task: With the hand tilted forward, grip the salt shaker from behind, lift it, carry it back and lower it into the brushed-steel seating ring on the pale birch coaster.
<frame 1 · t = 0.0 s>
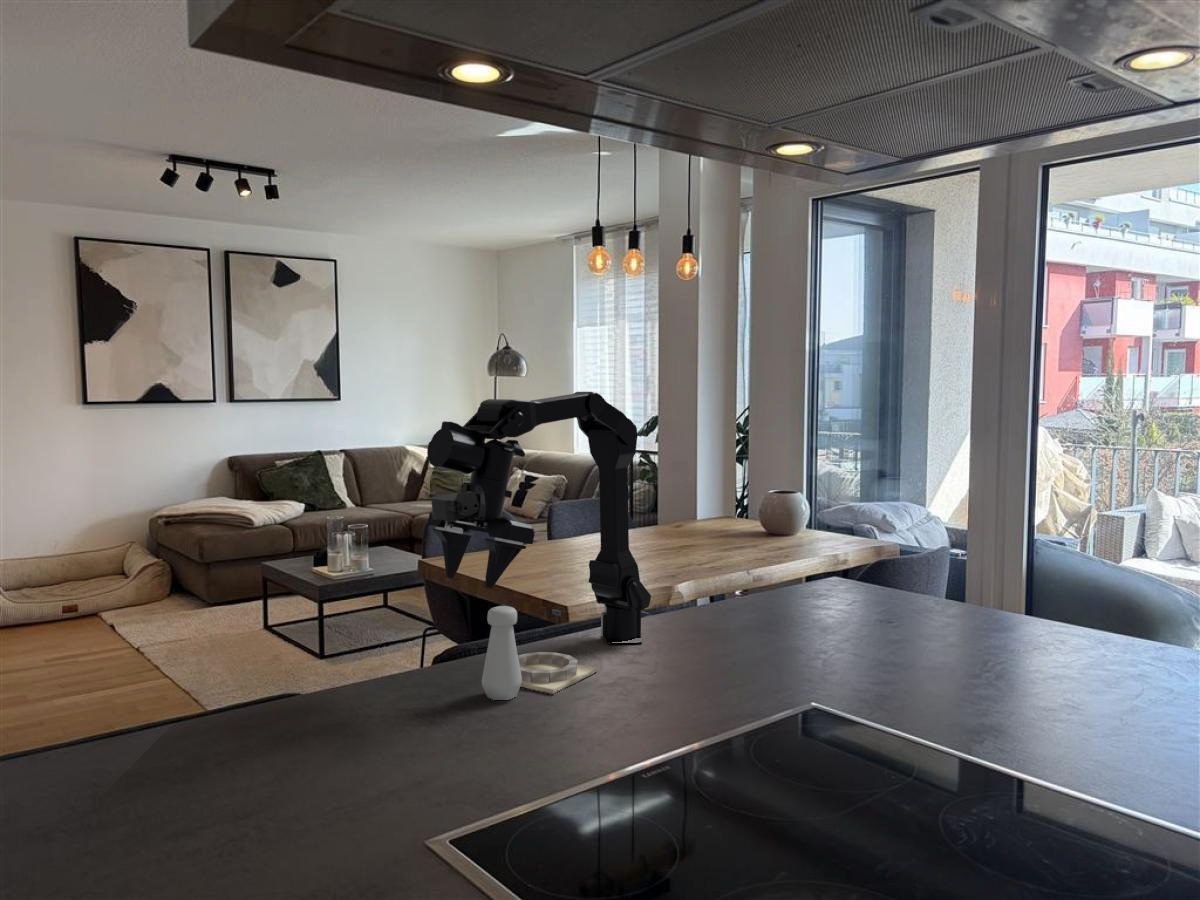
hand: (468, 583, 130), 15 cm above the worktop, tool pointing down, fingers open, 9 cm apart
salt shaker: (501, 697, 126), on the worktop
ring stand: (543, 676, 135), on the worktop
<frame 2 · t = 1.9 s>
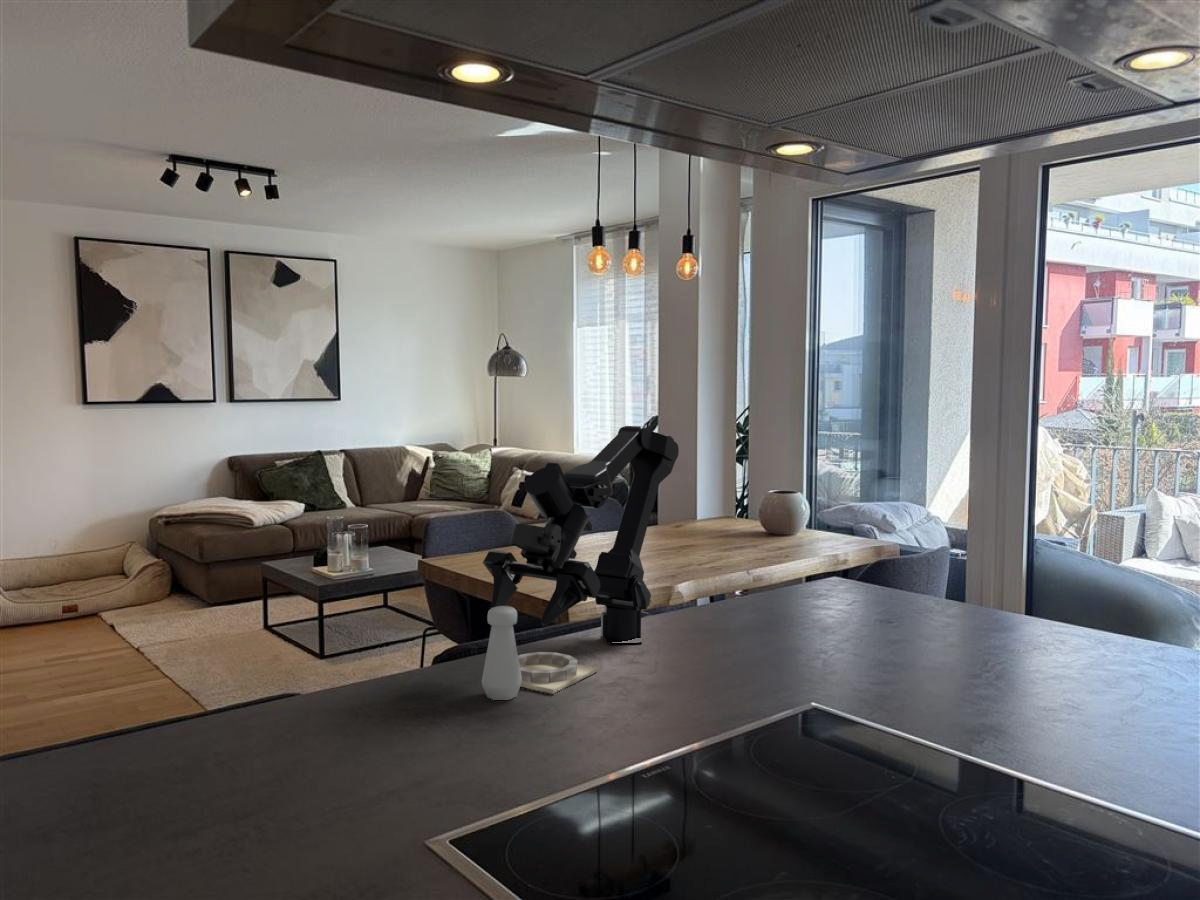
hand: (517, 619, 128), 10 cm above the worktop, tool tilted 45°, fingers open, 9 cm apart
nothing on the worktop moved.
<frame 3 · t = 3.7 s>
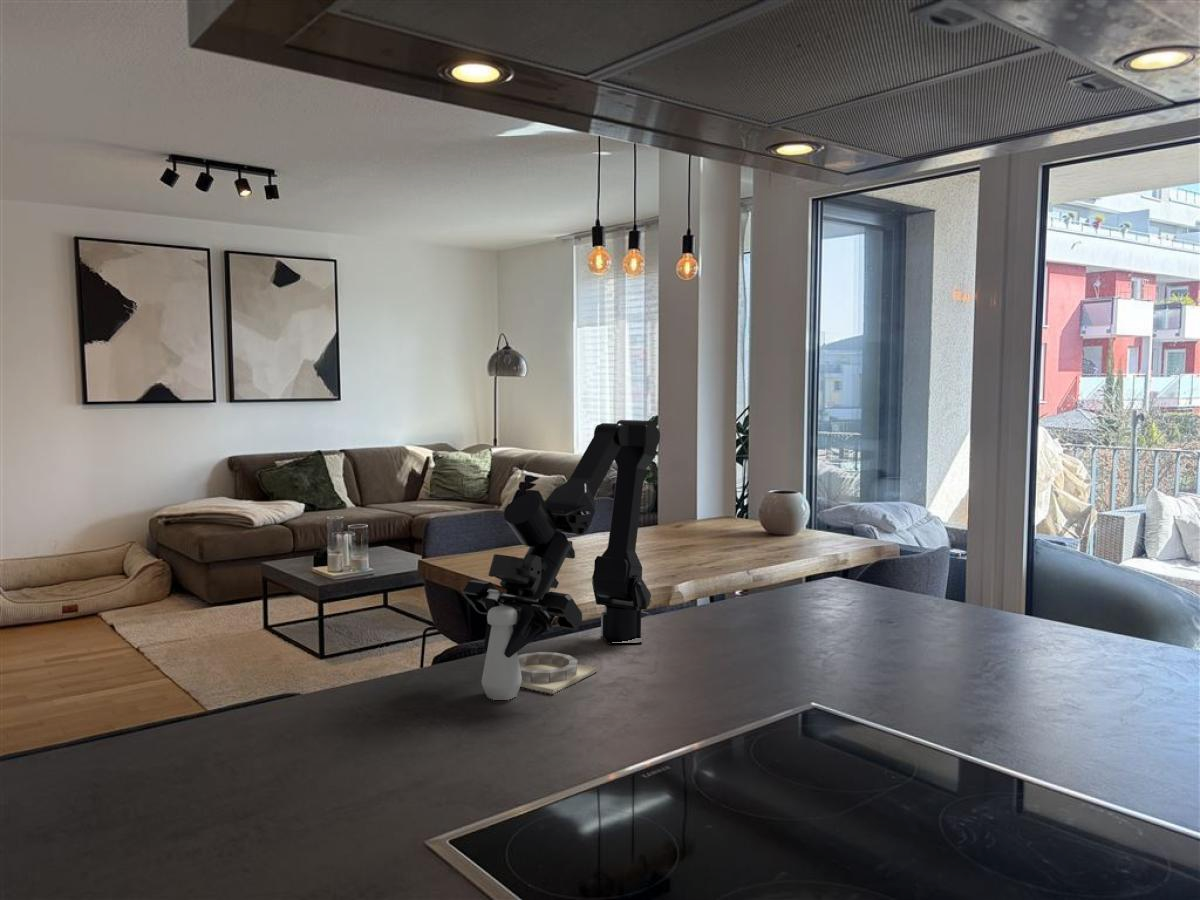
hand: (496, 653, 124), 7 cm above the worktop, tool tilted 45°, fingers closed on salt shaker, 3 cm apart
salt shaker: (501, 697, 126), on the worktop, touching gripper
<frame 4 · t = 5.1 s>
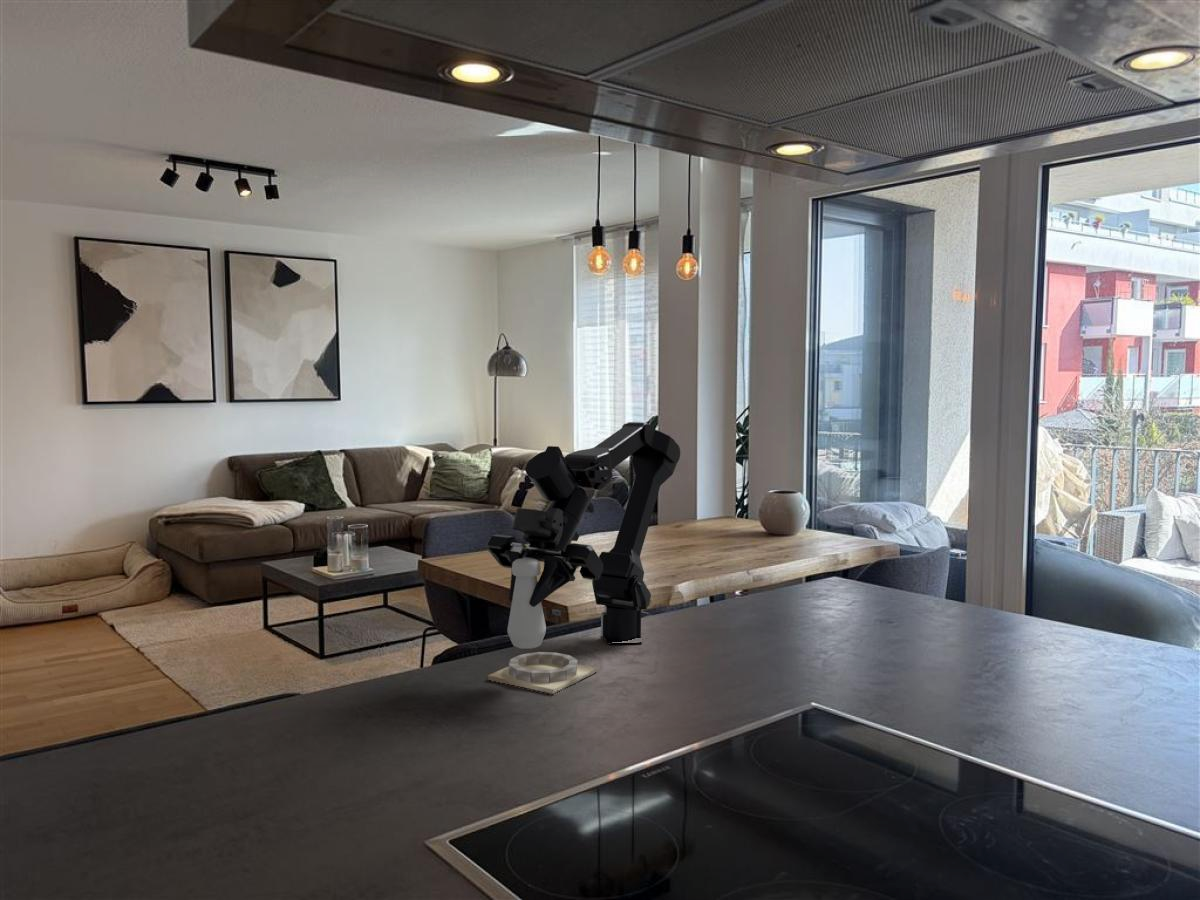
hand: (521, 603, 129), 13 cm above the worktop, tool tilted 45°, fingers closed on salt shaker, 3 cm apart
salt shaker: (527, 645, 131), point 6 cm above the worktop, touching gripper
when the fingers open (9 cm above the worktop, at t = 6.6 s): salt shaker drops 1 cm, resting on ring stand.
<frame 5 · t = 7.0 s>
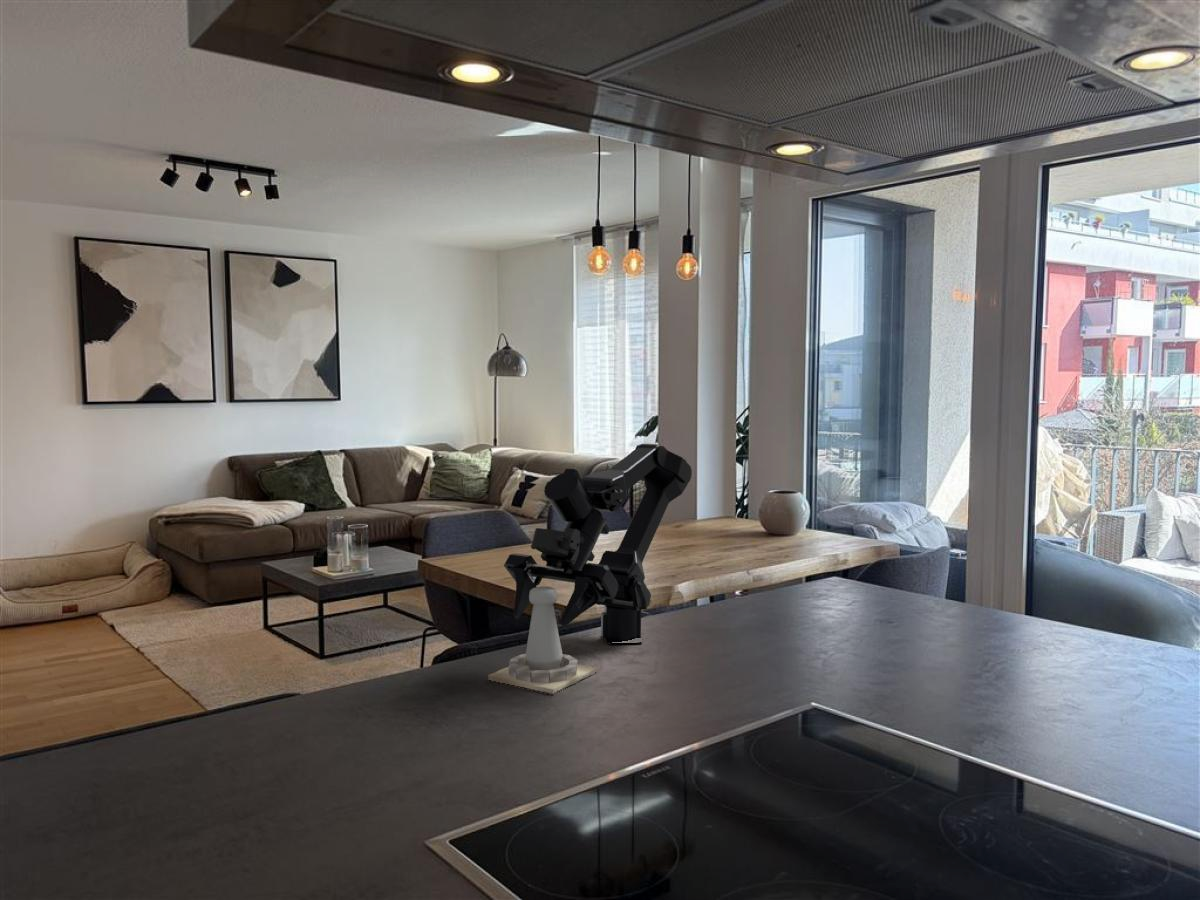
hand: (538, 620, 133), 9 cm above the worktop, tool tilted 45°, fingers open, 8 cm apart
salt shaker: (544, 672, 135), point 1 cm above the worktop, touching ring stand
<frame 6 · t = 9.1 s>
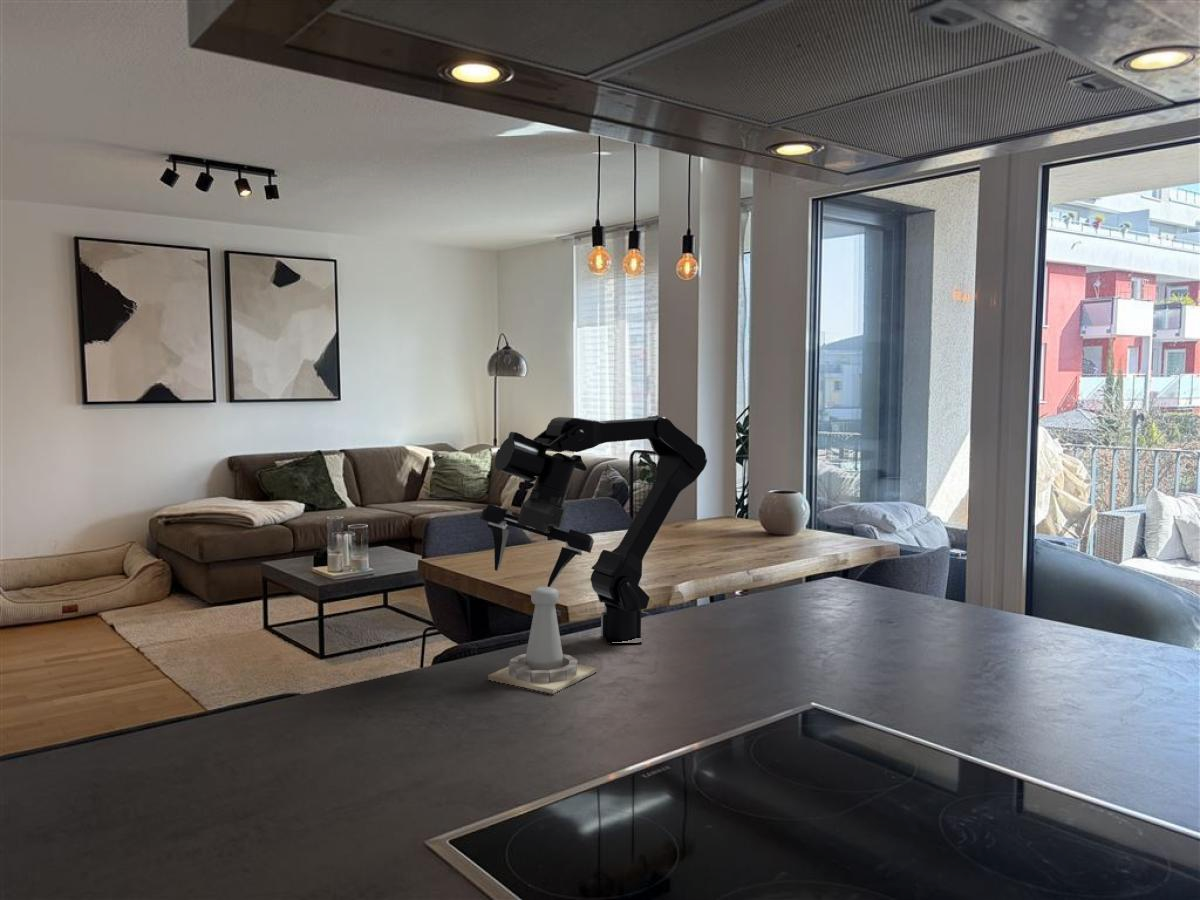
hand: (522, 578, 144), 13 cm above the worktop, tool tilted 20°, fingers open, 9 cm apart
nothing on the worktop moved.
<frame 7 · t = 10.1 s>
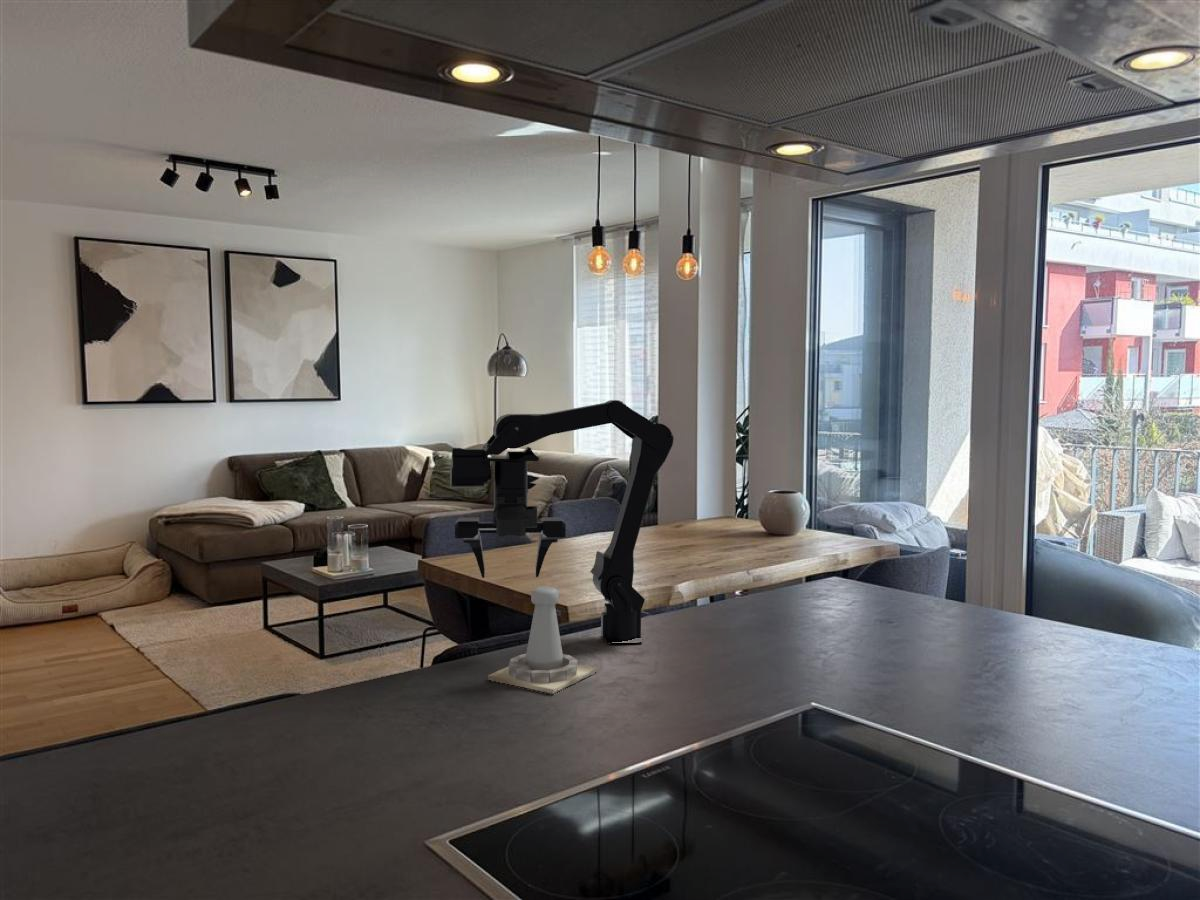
hand: (510, 577, 151), 12 cm above the worktop, tool pointing down, fingers open, 9 cm apart
nothing on the worktop moved.
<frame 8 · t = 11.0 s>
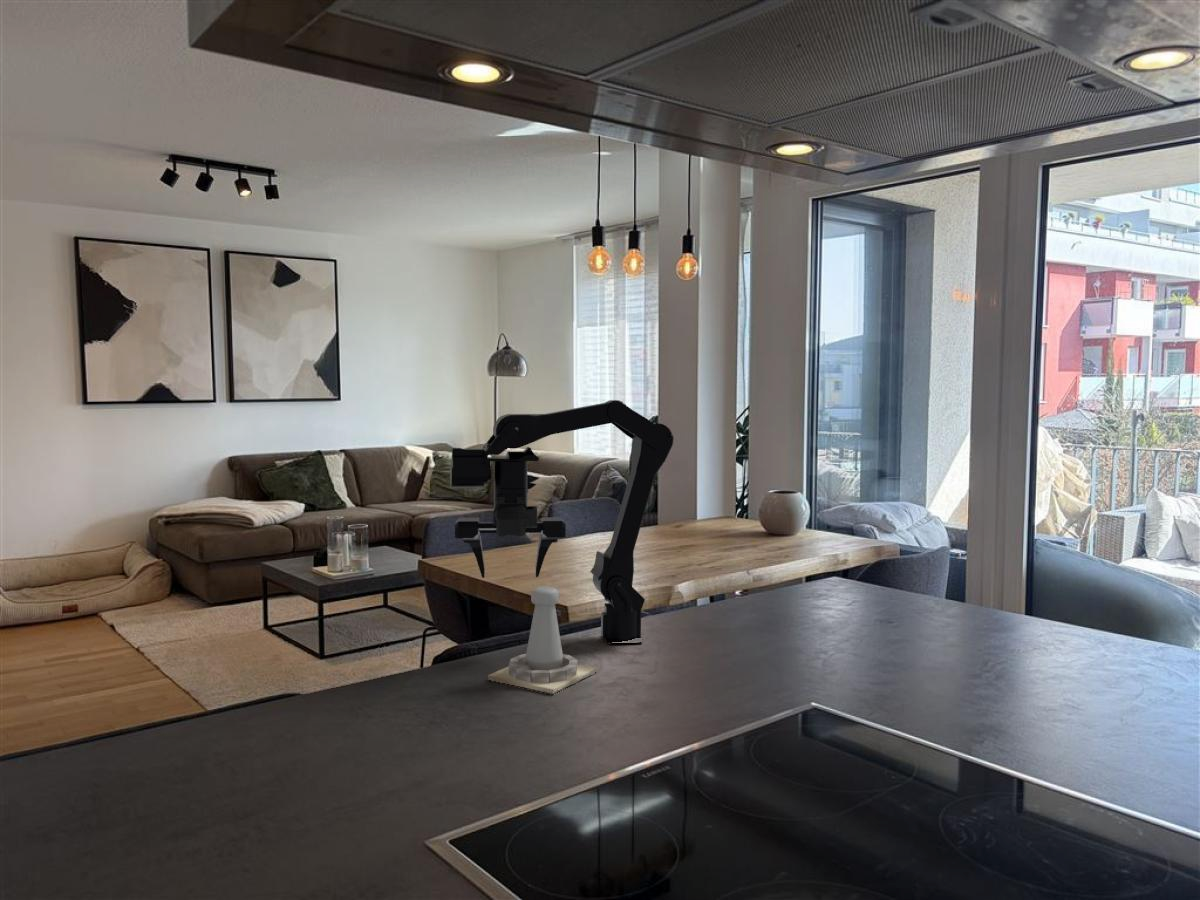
hand: (510, 577, 151), 12 cm above the worktop, tool pointing down, fingers open, 9 cm apart
nothing on the worktop moved.
at the end: salt shaker 0.3 cm off-centre on the ring stand, point 0.6 cm above the ring stand's base; salt shaker tilted 0°; the gripper is holding nothing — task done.
